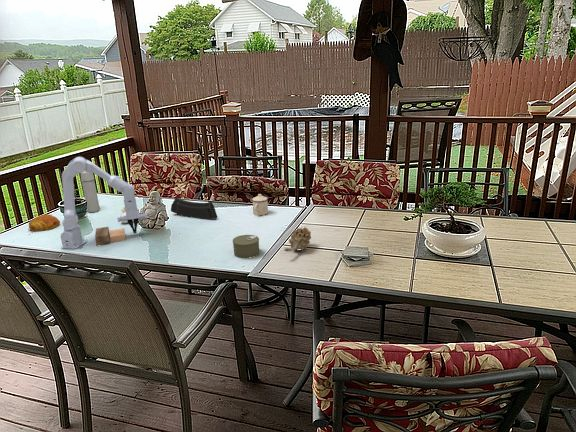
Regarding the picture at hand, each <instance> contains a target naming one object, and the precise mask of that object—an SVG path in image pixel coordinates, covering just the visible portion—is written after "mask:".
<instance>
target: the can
mask: <svg viewBox="0 0 576 432" xmlns="http://www.w3.org/2000/svg"><path fill="white" fill-rule="evenodd" d="M232 245H233V246H232V247H233V255H234V257H236V258H239V259H250V258H249V257H252V258H254V257H253V256H255V257H257V256H258V255H260V238H259V236H258V235H254V234H242V235H238V236H235V237H234V238H233V239H232ZM257 254H258V255H257ZM256 255H257V256H256Z"/></svg>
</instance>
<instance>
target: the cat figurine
mask: <svg viewBox="0 0 576 432" xmlns="http://www.w3.org/2000/svg"><path fill="white" fill-rule="evenodd" d="M137 211H138V214H140V210H139V208H137ZM123 216H126V211H125V206H124V207H123V209H121V214H120V215H119V217H123ZM121 222H122V223H123V224H128V221H121ZM133 223H134V221H133Z"/></svg>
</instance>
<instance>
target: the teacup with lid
mask: <svg viewBox="0 0 576 432" xmlns="http://www.w3.org/2000/svg"><path fill="white" fill-rule="evenodd" d="M268 200H269V198H268V197H267V196H264V195H262V194H261V193H258V194H257V196H255V197H253V198H252V199H251V201H252V211H253V215H254V214H255V215H254V216H258V215H262V216H266V215H268V214H269V205H268V204H269V203H268ZM267 213H268V214H267ZM265 214H266V215H265Z"/></svg>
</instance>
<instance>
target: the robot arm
mask: <svg viewBox="0 0 576 432" xmlns="http://www.w3.org/2000/svg"><path fill="white" fill-rule="evenodd" d="M84 171H86V173H88V172H92V173H93V175H96V176H98V177H100V178H101V179H103V180H104V181H106V182H107V185H108V186H109V187H111V188H113V189H114V190H116V191H117V192H119V193H121V195H122V196H123V205H124V207H125V211H126V216H123V217H120V216H118V217H117V218H116V219H117V223H121V222H122V221H128V223H127V224H128V225H129V226H130V228H131V229H132V232H133V234H137V228H138V224H139V219H147V218H148V213H139V214H138V211H137V209H138V206H137V205H138V204H137V199H136V196H135V188H134V186H133V185H132V184H131V183H129V182H128V181H124V180H123V179H121V176H119V175H115V174H114V175H111V174H110V173H108V172H106V171H105V170H104V169H102V168H101V167H99V166H98V165H96V164H94V162H92V161H90V160H89V159H86V158H85V157H83V156H76V157H75V158H73V159H72V160H70V161H69V163H68V164H67V166H66V167H65V169H64V170H63V171H62V173H61V180H62V192H63V207H64V209H63V210H64V211H63V212H64V213H63V214H64V215H63V217H64V218H63V220H62V227H63V231H62V232H61V234H60V240H61V245H62V246H61V249H70V250H71V249H73V250H77V249H78V248H80V247H81V246H83V245H84V244H86V243H87V242H88V240H84V239H83V235H82V229H81V226H80V224H78V221H79V215H78V213H77V211H76V210H77V209H76V204H75V202H76V200H75V184H74V178H75V177H76V176H77V175H79V174H81V173H82V172H84ZM133 221H134V222H133Z"/></svg>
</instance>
